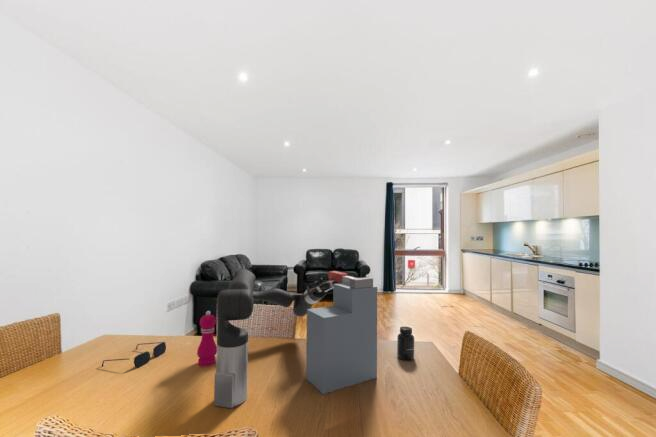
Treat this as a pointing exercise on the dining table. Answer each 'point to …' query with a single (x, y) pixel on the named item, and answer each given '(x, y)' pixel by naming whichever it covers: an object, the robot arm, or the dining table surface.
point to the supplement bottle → (405, 344)
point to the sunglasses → (146, 355)
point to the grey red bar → (351, 280)
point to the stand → (342, 339)
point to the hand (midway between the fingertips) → (331, 279)
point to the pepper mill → (207, 341)
